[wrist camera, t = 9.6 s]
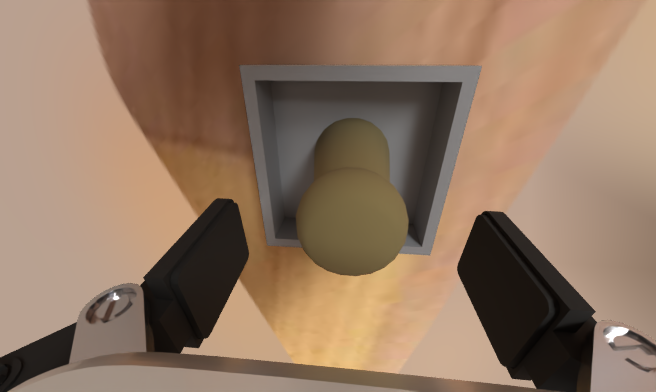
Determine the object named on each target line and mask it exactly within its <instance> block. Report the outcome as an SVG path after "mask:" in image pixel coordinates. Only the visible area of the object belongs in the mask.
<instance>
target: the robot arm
mask: <svg viewBox="0 0 656 392" xmlns="http://www.w3.org/2000/svg"><path fill="white" fill-rule="evenodd" d="M248 257H249V251H248V246H247V242H246V238H245V233H244V229H243V225H242V221H241V216H240V212H239V208H238V204H237V203H234V201H233V200H232V199H220V198H218V199H216V200H214V201H213V203H212V204H211V205H210V206H209V207H208V208H207V209H206V210H205V211H204V212H203V213H202V214H201V216H200V217H199V218H198V219H197V220H196V221H195V222H194V223H193V224H192V225H191V226H190V227H189V229H188V230H187V231H186V232H185V233H184V234H183V235H182V236H181V237H180V238H179V239H178V241H177V242H176V243H175V244H174V245H173V246H172V247H171V248H170V249H169V250H168V251H167V253H166V254H165V255H164V256H163V257H162V258H161V259H160V260H159V261H158V262H157V263H156V264H155V265H154V267H153V268H152V269H151V270H150V271H149V272H148V273H147V274H146V275H145V276H144V277H143V278H144V280H145V281H144V282H143V283H142V284H141V285H140V286H139V285H138V284H133V283H127V284H121V285H118V286H114V287H112V288H110V289H108V290H105V291H104V292H102V293H100V294H99V295H97V296H96V297H94V298H93V299H92V300H91V301H90V302H89V303H88V304H86V306H85V307H84V308H83V309H82V311H81V312H80V315H79V317H78V320H77V322H76V323H74V324H72V325H70V326H67V327H65V328H63V329H61V330H59V331H57V332H54V333H52V334H50V335H48V336H46V337H44V338H42V339H39V340H37V341H35V342H33V343H31V344H29V345H27V346H24V347H22V348H20V349H18V350H16V351H13V352H11V353H9V354H7V355H5V356H3V357H0V392H656V340H654V339H653V338H651V337H650V336H648V335H647V334H645V333H643V332H641V331H639V330H638V329H635V328H633V327H631V326H628V325H626V324H624V323H620V322H616V321H612V320H602V321H600V322H598V323H597V322H596V321H595V320H594V319H593V317H592V315H593V314H594V313H595V310H594V309H593V308H592V307H591V306H590V305H589V304H588V303H587V302H586V301H585V300H584V299H583V297H582V296H581V295H580V294H579V293H578V292H577V291H576V290H575V289H574V288H573V287H572V286H571V285H570V284H569V282H568V281H567V280H566V279H565V278H564V277H563V276H562V275H561V274H560V273H559V272H558V271H557V269H556V268H555V267H554V266H553V265H552V264H551V263H550V262H549V261H548V260H547V259H546V258H545V257H544V255H543V254H542V253H541V252H540V251H539V250H538V249H537V248H536V247H535V246H534V245H533V244H532V242H531V241H530V240H529V239H528V238H527V237H526V236H525V235H524V234H523V233H522V232H521V231H520V230H519V228H518V227H517V226H516V225H515V224H514V223H513V222H512V221H511V220H510V219H509V218H508V217H507V216H506V214H504V213H503V212H494V211H484V212H483V213H482V214H481V215H478V216H477V217H476V220H475V222H474V225H473V227H472V230H471V232H470V235H469V237H468V240H467V243H466V245H465V248H464V250H463V253H462V255H461V258H460V260H459V263H458V266H457V271H458V274H459V277H460V279H461V281H462V283H463V285H464V287H465V289H466V291H467V294H468V296H469V298H470V300H471V302H472V304H473V306H474V309H475V311H476V313H477V315H478V317H479V319H480V321H481V323H482V326H483V327H484V330H485V332H486V334H487V336H488V338H489V340H490V342H491V345H492V347H493V349H494V351H495V353H496V355H497V358H498V360H499V361H500V363H501V364H502V365H503V366H505V367H506V368H507V370H508V372H509V374H510V376H511V378H512V379H520V380H532V381H533V383H534V385H535V386H536V388H537V389H534V388H526V387H518V386H510V385H500V384H490V383H481V382H471V381H462V380H452V379H442V378H433V377H423V376H414V375H404V374H394V373H384V372H374V371H364V370H354V369H344V368H334V367H324V366H313V365H303V364H293V363H282V362H271V361H261V360H249V359H239V358H229V357H218V356H205V355H190V354H180V353H181V351H182V350H183V348H184V347H192V348H199V347H200V345H201V343H202V341H203V339H204V338H208V337H209V335H210V333H211V332H212V330H213V328H214V326H215V324H216V322H217V320H218V318H219V315H220V314H221V312H222V310H223V308H224V306H225V304H226V302H227V300H228V298H229V296H230V294H231V292H232V290H233V288H234V286H235V284H236V282H237V280H238V278H239V276H240V274H241V272H242V270H243V268H244V266H245V264H246V262H247V260H248Z"/></svg>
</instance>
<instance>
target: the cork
mask: <svg viewBox="0 0 656 392" xmlns="http://www.w3.org/2000/svg"><path fill="white" fill-rule="evenodd" d="M408 223H409V220H408V215H407V210H406V206H405V203H404V201H403V199H402V197H401V196H400V194H399V193H398V191H397V190H396V188H395V186H394V185H392V184H391V183H390V153H389V147H388V142H387V139H386V138H385V136H384V134H383V133H382V131H381V130H380V129H379V128H378V127H376V126H375V125H374V124H373V123H371V122H369V121H366V120H363V119H360V118H345V119H342V120H339V121H336V122H334V123H332V124H331V125H330V126H328V127H327V128H325V129H324V131H323V132H322V134H321V135H320V136H319V138H318V140H317V143H316V146H315V151H314V182H313V183H312V184H311V185H310V187H309V188H308V189H307V190H306V192H305V193H304V194H303V196H302V198H301V201H300V204H299V207H298V210H297V213H296V226H297V237H298V239H299V241H300V243H301V245H302V248H303V249H304V251H305V252H306V254H307V255H308V256H309V257H310V258H311V259H312V260H313V261H314V262H315V264H317V265H319V266H320V267H322V268H324V269H325V270H327V271H330V272H333V273H336V274H340V275H349V276H359V275H365V274H371V273H373V272H375V271H378V270H380V269H382V268H384V267H385V266H387V265H388V264H389V263H390V262H392V261H393V260H394V259H395V258H396V256H397V255H398V253H399V252H400V250H401V248H402V247H403V245H404V244H405V242H406V237H407V232H408Z"/></svg>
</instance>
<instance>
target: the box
mask: <svg viewBox="0 0 656 392" xmlns="http://www.w3.org/2000/svg"><path fill="white" fill-rule="evenodd" d="M239 67H240V73H241V80H242V86H243V93H244V99H245V106H246V112H247V118H248V125H249V131H250V138H251V144H252V151H253V157H254V164H255V170H256V177H257V183H258V190H259V196H260V202H261V209H262V215H263V222H264V228H265V235H266V241H267V245H268V246H284V247H301V248H302V245H301V243H300V241H299V239H298V237H297V226H296V213H297V210H298V207H299V204H300V201H301V198H302V196H303V194H304V193H305V192H306V190H307V189H308V188H309V187H310V185H311V184H312V183H313V182H314V151H315V146H316V143H317V140H318V138H319V136H320V135H321V134H322V132H323V131H324V129H325V128H327V127H328V126H330V125H331V124H332V123H334V122H336V121H339V120H342V119H345V118H360V119H363V120H366V121H369V122H371V123H373V124H374V125H375V126H376V127H378V128H379V129H380V130H381V131H382V133H383V134H384V136H385V138H386V139H387V142H388V147H389V153H390V183H391V184H392V185H394V186H395V188H396V190H397V191H398V193H399V194H400V196H401V197H402V199H403V201H404V203H405V206H406V210H407V215H408V220H409V223H408V232H407V237H406V242H405V244H404V245H403V247H402V248H401V250H400V252H399V253H400V254H416V255H430V254H431V250H432V247H433V243H434V239H435V236H436V232H437V228H438V225H439V221H440V217H441V214H442V210H443V206H444V203H445V199H446V196H447V192H448V188H449V185H450V181H451V177H452V174H453V170H454V166H455V163H456V159H457V155H458V152H459V148H460V144H461V141H462V137H463V134H464V130H465V126H466V123H467V119H468V115H469V112H470V108H471V104H472V101H473V97H474V93H475V90H476V86H477V83H478V79H479V75H480V72H481V68H482V66H466V65H239Z"/></svg>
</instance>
